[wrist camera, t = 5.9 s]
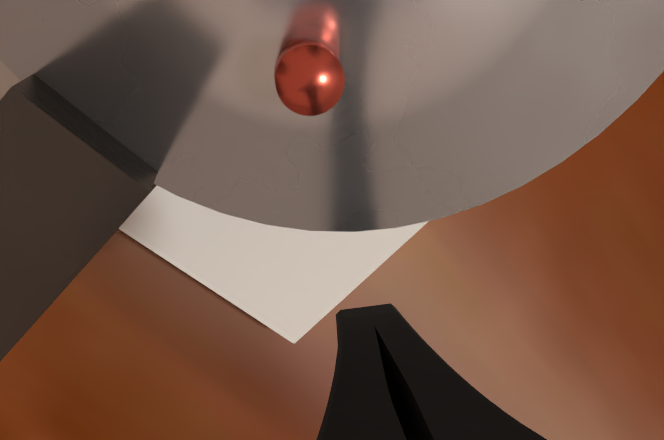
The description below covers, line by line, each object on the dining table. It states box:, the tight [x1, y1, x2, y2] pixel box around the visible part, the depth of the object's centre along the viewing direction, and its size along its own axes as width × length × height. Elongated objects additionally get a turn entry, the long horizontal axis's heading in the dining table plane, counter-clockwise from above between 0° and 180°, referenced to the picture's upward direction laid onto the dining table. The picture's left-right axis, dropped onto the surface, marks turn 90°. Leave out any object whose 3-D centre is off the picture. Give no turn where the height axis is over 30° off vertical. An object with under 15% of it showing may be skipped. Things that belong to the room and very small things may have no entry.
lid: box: [0, 0, 664, 347], centre depth 8 cm, size 22×14×2 cm, turn 133°
